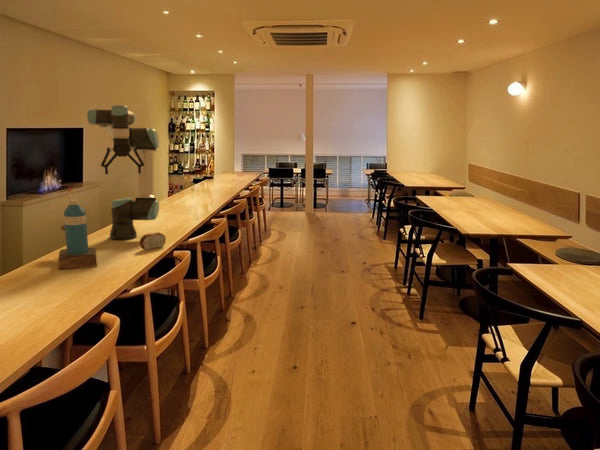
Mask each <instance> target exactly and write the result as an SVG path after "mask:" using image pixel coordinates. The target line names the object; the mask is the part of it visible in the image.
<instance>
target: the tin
mask: <svg viewBox="0 0 600 450" xmlns="http://www.w3.org/2000/svg"><path fill="white" fill-rule="evenodd" d="M165 244H166V236H165V234H163V233H161V232H153V233H152V232H151V233H147V234H144V235H142V236H141V238H140V240H139V246H140V247H141V249H143V250H146V251H150V250H154V249H160V248H162V247H163V246H165Z"/></svg>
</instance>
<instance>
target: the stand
mask: <svg viewBox="0 0 600 450" xmlns="http://www.w3.org/2000/svg"><path fill="white" fill-rule="evenodd" d="M96 250H97V249H96V247H95V246H91V247H89V246H88V252H86V253H82V254H69V253H67V248H63V249H60V250H59V253H58V259H57V260H58V270H59V271H65V270H66V271H67V270H76V269H78V268H79V269H88V268H98V263H97V260H98V259H97V252H96Z"/></svg>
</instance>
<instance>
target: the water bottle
mask: <svg viewBox="0 0 600 450" xmlns="http://www.w3.org/2000/svg"><path fill="white" fill-rule="evenodd" d="M63 219H64V225H65V230H64V231H65V232H64V234H65V244H66V245H65V246H66V249H67V253H69V254H82V253H86V252H88V247H89V239H88V229H87V228H88V227H87V213H86V210H85V209H84V208H83V207H82V205H81V204H80V200H79V199H73V200H69V199H68V206H67V207H66V209H65V210H64V211H63Z"/></svg>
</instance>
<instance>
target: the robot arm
mask: <svg viewBox="0 0 600 450" xmlns="http://www.w3.org/2000/svg"><path fill="white" fill-rule="evenodd" d="M86 115H87V118H86V119H87V122H88V123H89V125H93V126H96V125H97V126H99V128H101V129H103V131H104V132H106V133H107V135H109V136H110V139H111V140H112V141H113V143H112V144H113V147H107V149H106V153H105V155H104V156H103V159H102V161H101V164H100V166H101V167H103V168H104V174H105V175H107V181H108V182H110V181H111V176H110V167H109V166H110V165H111V164H112V163H113V161H115V159H116V158H117V157H119V158H121V157H123V158H124V157H125V158H126V157H127V156H128V157H129V159H131V161H132V162H133V163H134V164H135V165H136V168H135V169H136V170H135V171H136V180H137V195H136V196H135V200H133V198H132V197H123V198H117V199H113V200H111V205H110V206H111V208H110V210H111V211H110V212H111V228H110V232H109V239H110V240H117V241H123V240H125V241H126V240H131V239H132V240H133V239H135V238H137V236H138V234H137V231H136V228H135V225H134V221H154V220H156V219H157V218H158V214H159V212H160V202H159V200H157V196H155V195H154V154H155V153H156V152H157V150H156V149H159V148H160V140H159V135H158V132H157V130H156V129H154V128H151V127H129V126H131V125H133V124H134V123H135V122H136V115H135V114H134V112H132V111H131V110H129V108H128V106H127V105H116V104H114V105H112V106H111V109H97V108H93V109H89V110H88V111H87V114H86ZM112 151H113V152H114V154H113V156H112V157H111V158H110V159H109V160H108V161H107V159H108V157H109V155H110V153H112ZM131 151H132V152H133V153H134V154H135V156H136V157H137V160H136V159H135V158H134V157H133V156H132V155H131V154H130V153H131ZM106 162H107V163H106Z"/></svg>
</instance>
